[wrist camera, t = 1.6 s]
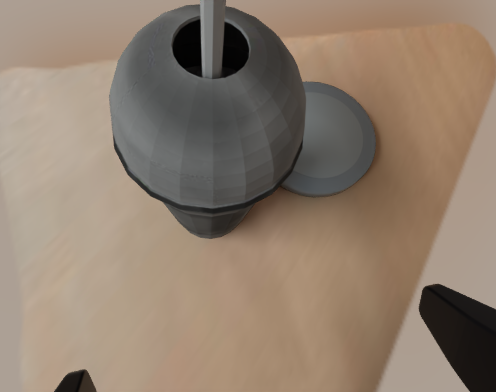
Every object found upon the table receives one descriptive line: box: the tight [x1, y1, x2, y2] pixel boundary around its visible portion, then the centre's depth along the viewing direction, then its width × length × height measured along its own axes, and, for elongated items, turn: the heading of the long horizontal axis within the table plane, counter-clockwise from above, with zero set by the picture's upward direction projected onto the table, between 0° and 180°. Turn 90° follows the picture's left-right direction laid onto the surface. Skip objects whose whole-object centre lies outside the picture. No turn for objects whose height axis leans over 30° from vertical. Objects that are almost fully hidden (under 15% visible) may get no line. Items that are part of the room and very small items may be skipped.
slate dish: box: [280, 82, 376, 197], centre depth 26 cm, size 9×9×1 cm
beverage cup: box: [109, 0, 306, 239], centre depth 15 cm, size 7×7×20 cm
